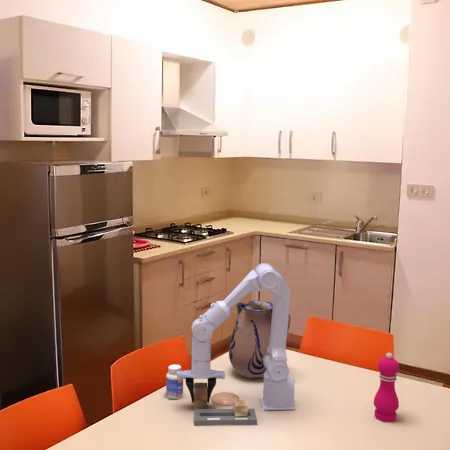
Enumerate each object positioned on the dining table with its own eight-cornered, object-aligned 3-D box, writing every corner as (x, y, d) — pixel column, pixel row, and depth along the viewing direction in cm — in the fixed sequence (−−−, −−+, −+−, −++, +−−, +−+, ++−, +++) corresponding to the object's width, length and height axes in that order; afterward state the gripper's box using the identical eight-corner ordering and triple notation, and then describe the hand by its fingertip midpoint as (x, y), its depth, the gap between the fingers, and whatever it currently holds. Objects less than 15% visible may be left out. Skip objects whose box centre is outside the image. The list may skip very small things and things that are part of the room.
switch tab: (246, 410, 169) (246, 399, 169) (247, 416, 165) (247, 405, 165) (233, 410, 169) (234, 399, 169) (235, 416, 165) (235, 406, 165)
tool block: (206, 404, 177) (207, 382, 176) (207, 410, 173) (207, 388, 172) (193, 404, 176) (194, 382, 175) (193, 410, 173) (194, 388, 172)
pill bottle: (180, 400, 179) (180, 370, 177) (163, 398, 180) (164, 369, 178) (185, 393, 184) (185, 364, 183) (169, 391, 185) (169, 362, 184)
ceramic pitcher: (231, 362, 211) (233, 296, 207) (289, 366, 208) (291, 299, 204) (225, 381, 194) (226, 310, 190) (287, 386, 191) (290, 314, 187)
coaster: (238, 393, 185) (238, 391, 185) (240, 405, 176) (241, 404, 176) (210, 393, 184) (210, 392, 184) (211, 406, 175) (211, 404, 175)
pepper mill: (384, 425, 166) (388, 359, 163) (367, 414, 172) (371, 350, 169) (403, 419, 169) (407, 355, 166) (385, 409, 175) (389, 347, 173)
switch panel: (254, 413, 171) (254, 408, 171) (257, 424, 164) (257, 419, 164) (194, 413, 170) (194, 408, 170) (194, 425, 163) (194, 420, 163)
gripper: (224, 353, 177) (223, 395, 179) (177, 353, 176) (176, 395, 178) (225, 362, 170) (224, 405, 172) (176, 362, 169) (176, 405, 171)
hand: (200, 401), depth 174 cm, fingers closed on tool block, 4 cm apart
